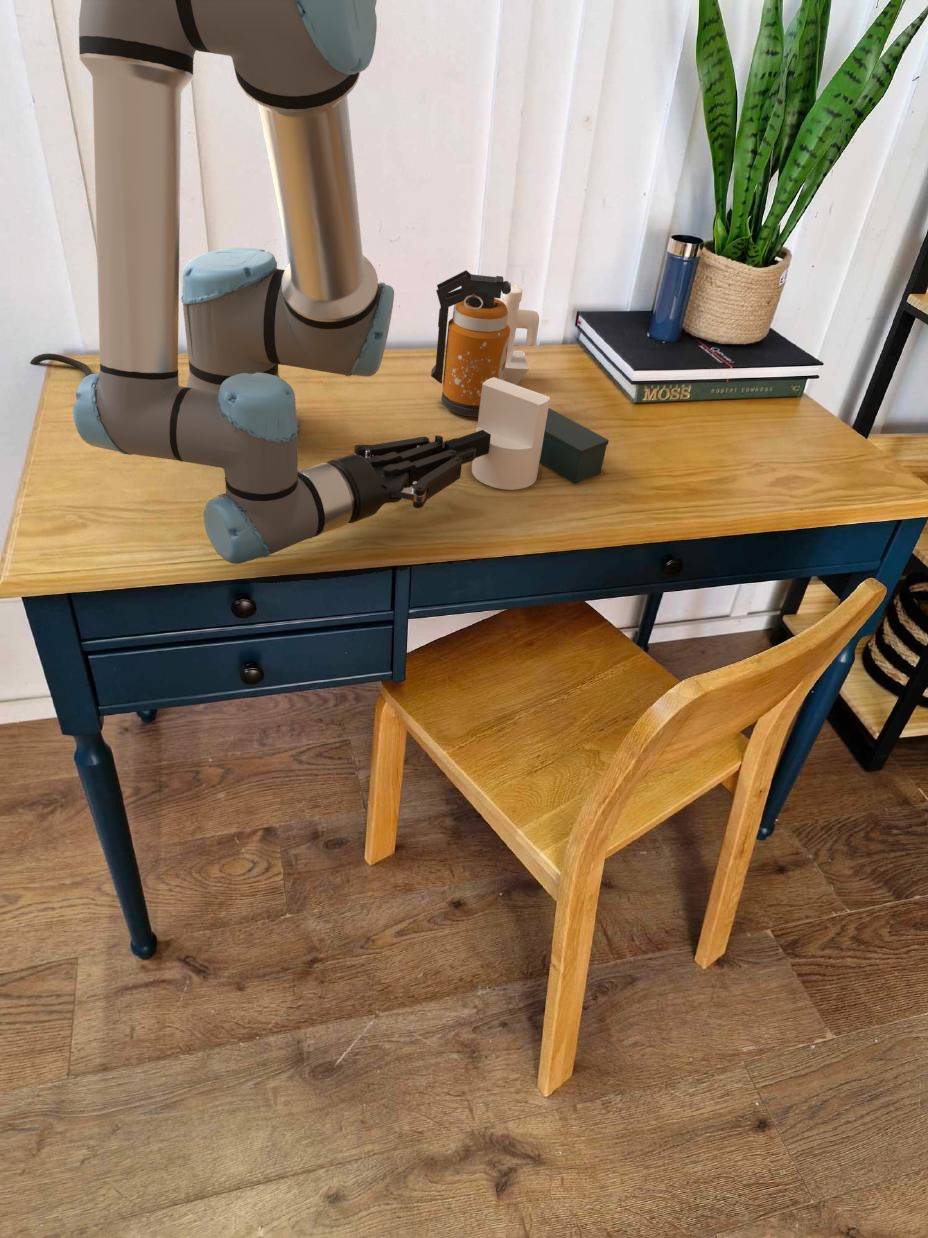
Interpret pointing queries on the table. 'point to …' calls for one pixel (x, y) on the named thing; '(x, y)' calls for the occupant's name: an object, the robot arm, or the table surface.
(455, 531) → the table surface
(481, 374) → the canister
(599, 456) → the pencil box
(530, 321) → the figurine
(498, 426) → the cylinder with rectangular tab
